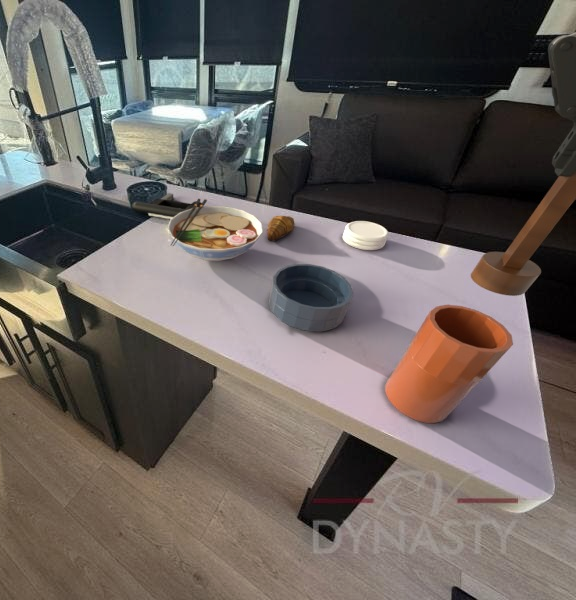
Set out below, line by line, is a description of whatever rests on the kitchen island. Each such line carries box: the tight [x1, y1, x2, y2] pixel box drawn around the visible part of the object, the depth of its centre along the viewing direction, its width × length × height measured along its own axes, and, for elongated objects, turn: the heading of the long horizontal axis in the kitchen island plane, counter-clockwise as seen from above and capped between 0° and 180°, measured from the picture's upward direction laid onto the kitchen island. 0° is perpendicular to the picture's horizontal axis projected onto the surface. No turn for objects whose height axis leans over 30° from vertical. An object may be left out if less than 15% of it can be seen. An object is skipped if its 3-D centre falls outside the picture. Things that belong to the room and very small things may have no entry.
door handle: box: [131, 192, 202, 220], centre depth 103 cm, size 3×20×16 cm
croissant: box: [266, 215, 296, 242], centre depth 88 cm, size 14×7×5 cm, turn 142°
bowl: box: [268, 263, 354, 332], centre depth 64 cm, size 14×14×6 cm
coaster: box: [342, 220, 390, 251], centre depth 84 cm, size 10×10×4 cm
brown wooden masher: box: [470, 170, 576, 297], centre depth 31 cm, size 5×5×16 cm
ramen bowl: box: [167, 198, 264, 262], centre depth 81 cm, size 25×23×8 cm
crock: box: [384, 304, 514, 424], centre depth 45 cm, size 8×8×15 cm
